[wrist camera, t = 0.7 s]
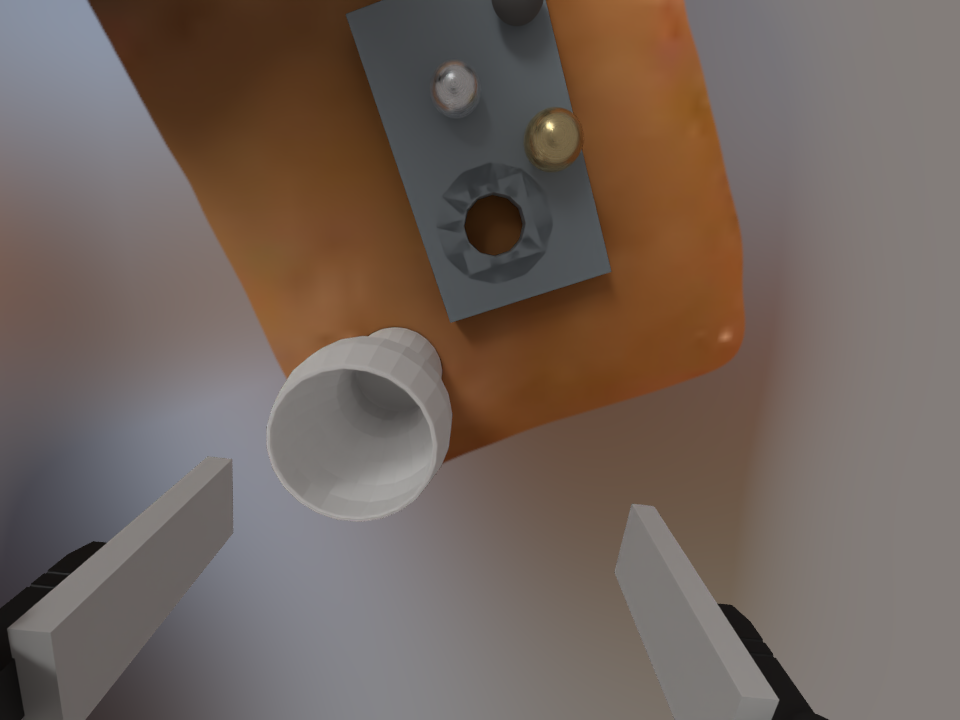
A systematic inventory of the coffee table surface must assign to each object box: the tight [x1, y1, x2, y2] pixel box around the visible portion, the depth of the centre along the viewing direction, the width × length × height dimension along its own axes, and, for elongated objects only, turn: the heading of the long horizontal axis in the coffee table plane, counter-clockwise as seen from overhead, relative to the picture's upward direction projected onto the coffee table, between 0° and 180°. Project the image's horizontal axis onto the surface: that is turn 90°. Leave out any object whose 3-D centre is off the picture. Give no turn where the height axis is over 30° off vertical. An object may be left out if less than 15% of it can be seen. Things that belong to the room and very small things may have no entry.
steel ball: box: [430, 59, 481, 119], centre depth 31 cm, size 3×3×3 cm
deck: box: [346, 0, 611, 323], centre depth 35 cm, size 22×13×2 cm, turn 18°
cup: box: [266, 327, 452, 522], centre depth 33 cm, size 11×11×15 cm
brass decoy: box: [523, 107, 583, 173], centre depth 31 cm, size 4×4×4 cm
